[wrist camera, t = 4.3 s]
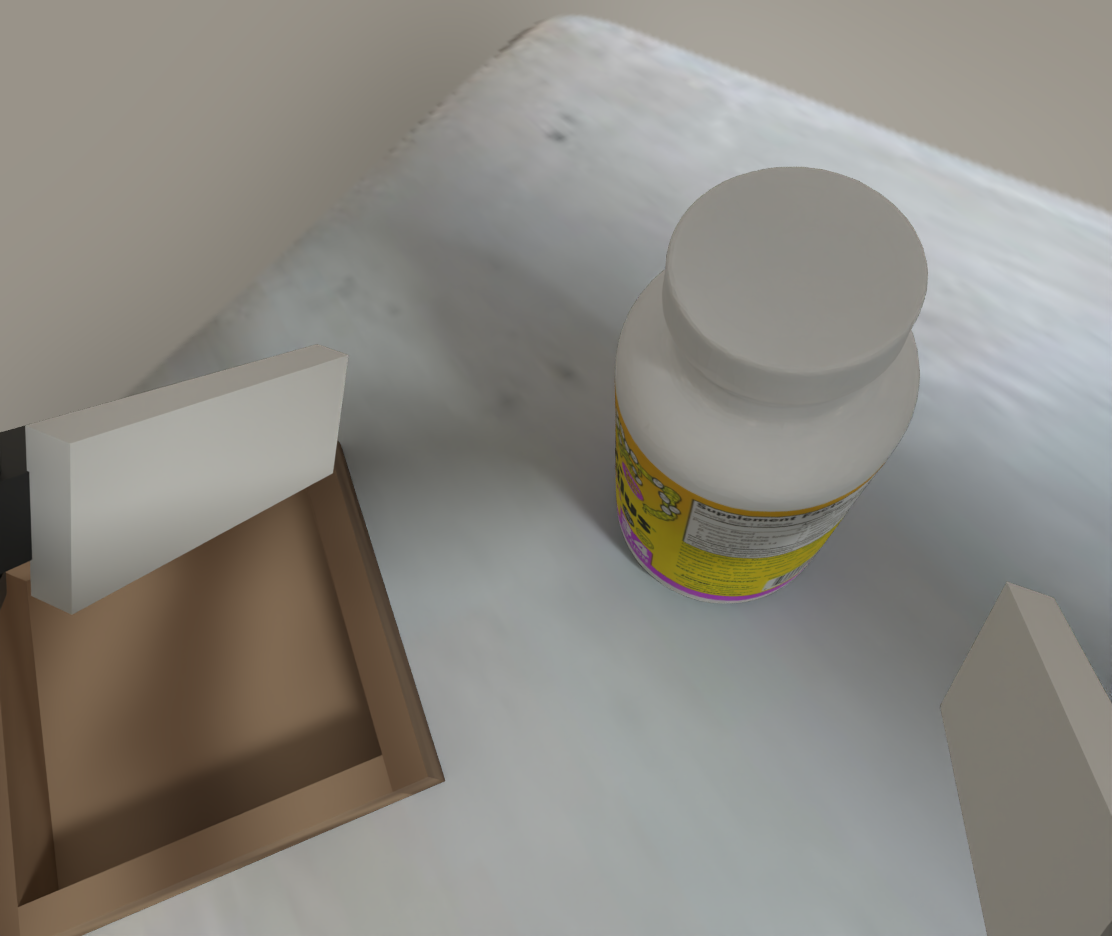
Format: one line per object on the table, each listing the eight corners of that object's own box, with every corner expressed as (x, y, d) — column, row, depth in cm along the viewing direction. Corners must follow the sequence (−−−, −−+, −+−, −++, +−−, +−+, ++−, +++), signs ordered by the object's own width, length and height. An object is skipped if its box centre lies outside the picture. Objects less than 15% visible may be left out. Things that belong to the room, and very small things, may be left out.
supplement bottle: (623, 415, 28) (627, 118, 16) (817, 428, 27) (969, 126, 15) (607, 601, 25) (597, 407, 13) (822, 621, 24) (1011, 434, 13)
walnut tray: (340, 444, 28) (318, 413, 26) (445, 781, 23) (428, 776, 21) (6, 570, 27) (-46, 549, 25) (42, 952, 22) (-19, 966, 20)
